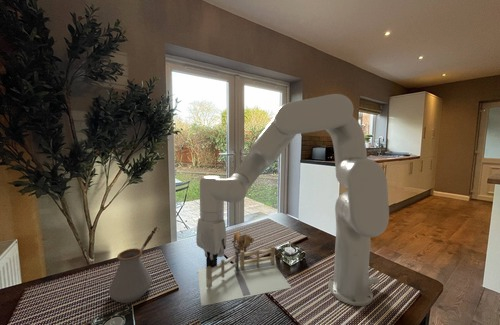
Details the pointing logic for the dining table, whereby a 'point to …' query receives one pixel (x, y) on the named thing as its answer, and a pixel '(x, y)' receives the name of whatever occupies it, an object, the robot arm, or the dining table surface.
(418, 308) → the dining table surface
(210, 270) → the fence panel
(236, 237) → the lion figurine
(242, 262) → the fixed fence
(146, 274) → the coffee pot
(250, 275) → the card
